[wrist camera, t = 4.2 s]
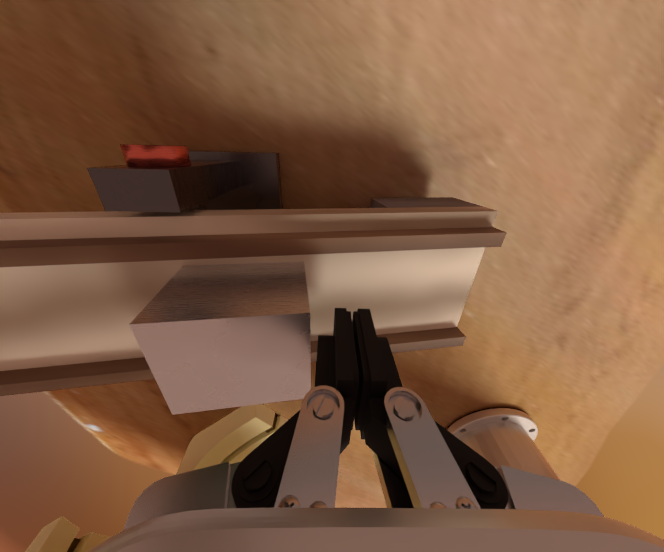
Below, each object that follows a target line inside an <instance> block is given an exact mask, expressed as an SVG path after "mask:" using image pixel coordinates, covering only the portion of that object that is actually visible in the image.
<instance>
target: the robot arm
mask: <svg viewBox="0 0 664 552" xmlns="http://www.w3.org/2000/svg"><path fill="white" fill-rule="evenodd" d="M354 419H355V428H356V430H360V432H361V439H365V442H366V445H367V446H369V447H370V448H371V449H372V450H373V457H374V461H375V465H376V468H377V472H378V476H379V479H380V483H381V487H382V490H383V494H384V498H385V501H386V505H387V508H334V507H335V497H336V487H337V476H338V466H339V456H340V454H341V453H342V451H343V450H344V449H345V448H346V447H347V445H348V444H349V441H350V434H351V430H352V429H353V422H354ZM537 433H538V428H537V426H536V424H535V422H534V421H533V420H532V418H531V417H530V416H529V415H528V414H526V413H524V412H522V411H519V410H516V409H510V408H494V409H487V410H482V411H478V412H475V413H472V414H470V415H467V416H465V417H463V418H461V419H459V420H458V421H456V422H455V423H453V424H452V425H451V426H450V427H449V428H448V429H447V430H446V429H445V428H443V427H442V426H441V425H439V424H438V423H437V422H435V421H434V420H433V418H432V416H431V414H430V412H429V410H428V408H427V407H426V405H425V403H424V401H423V400H422V399H421V397H420V396H419V395H418V394H416V393H415V392H414V391H412V390H410V389H407V388H404V387H402V384H401V381H400V378H399V374H398V371H397V368H396V365H395V361H394V358H393V355H392V352H391V348H390V345H389V342H388V339H387V338H386V337H377V335H376V331H375V327H374V323H373V320H372V316H371V312H370V309H360V308H358V310H357V311H354V312H353V319H352V318H351V311H347V310H346V308H335V312H334V329H333V336H330V335H318V345H317V361H316V376H315V387H314V388H312V389H311V390H309V391H308V393H307V394H306V395H305V397H304V399H303V402H302V406H301V410H300V411H298V412H297V413H296V414H295V415H294V416H293V417H291V418H290V419H289V420H288V421H287V422H286V423H284V424H283V425H282V426H281V427H280V428H279V429H277V430H276V431H275V432H274V433H273V434H272V435H270V436H269V437H268V438H267V439H266V440H265V441H263V442H262V443H261V444H260V445H259V446H258V447H256V448H255V449H254V450H253V451H252V452H251V453H249V454H248V455H247V456H246V457H245V458H244V459H243V460H242V461H241V462H237V463H233V464H230V463H229V462H225V463H221V464H217V465H213V466H209V467H205V468H201V469H197V470H193V471H189V472H185V473H181V474H177V475H173V476H170V477H166V478H163V479H161V480H158V481H156V482H154V483H153V484H152V485H150V486H149V487H148V488H147V489H145V490H144V491H143V493H142V494H141V495H140V496H139V497H138V499H137V500H136V501H135V503H134V505H133V507H132V509H131V511H130V513H129V516H128V519H127V522H126V525H125V527H124V530H123V531H122V532H120V533H118V534H116V535H114V536H112V537H110V538H108V539H107V540H105V541H103V542H102V543H100V544H99V545H97V546H95V547H94V548H92V549H91V550H89V551H88V552H664V540H663V539H661V538H659V537H657V536H655V535H653V534H651V533H648V532H646V531H644V530H642V529H639V528H637V527H634V526H631V525H629V524H626V523H624V522H621V521H617V520H614V519H610V518H607V517H604V516H603V514H602V513H601V512H600V510H599V509H598V507H597V506H596V505H595V503H594V502H593V501H592V500H590V498H589V497H588V496H586V494H585V493H583V492H582V491H580V490H579V489H578V488H576V487H575V486H573V485H571V484H568V483H566V482H563V481H561V480H560V479H559V477H558V476H557V474H556V473H555V472H554V470H553V469H552V467H551V466H550V464H549V463H548V462H547V460H546V459H545V457H544V456H543V454H542V453H541V452H540V450H539V449H538V447H537V446H536V445H535V443H534V442H533V441H534V440H535V438H536V436H537Z"/></svg>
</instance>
